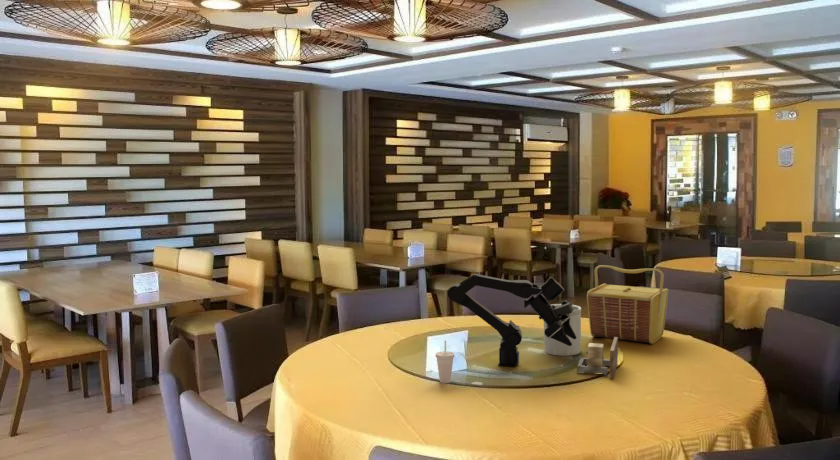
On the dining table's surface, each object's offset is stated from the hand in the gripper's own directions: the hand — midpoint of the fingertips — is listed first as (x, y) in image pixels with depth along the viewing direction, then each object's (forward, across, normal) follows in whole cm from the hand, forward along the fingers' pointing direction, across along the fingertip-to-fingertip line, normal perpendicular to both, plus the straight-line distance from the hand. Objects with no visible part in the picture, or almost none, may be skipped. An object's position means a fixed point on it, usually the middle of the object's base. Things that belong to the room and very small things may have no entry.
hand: (573, 341), depth 257 cm
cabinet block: (+12, 0, +1) cm, 12 cm away
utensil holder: (+2, +22, +13) cm, 25 cm away
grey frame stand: (+12, 0, +1) cm, 12 cm away
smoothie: (-20, -31, +34) cm, 50 cm away
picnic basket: (+18, +54, -2) cm, 57 cm away
